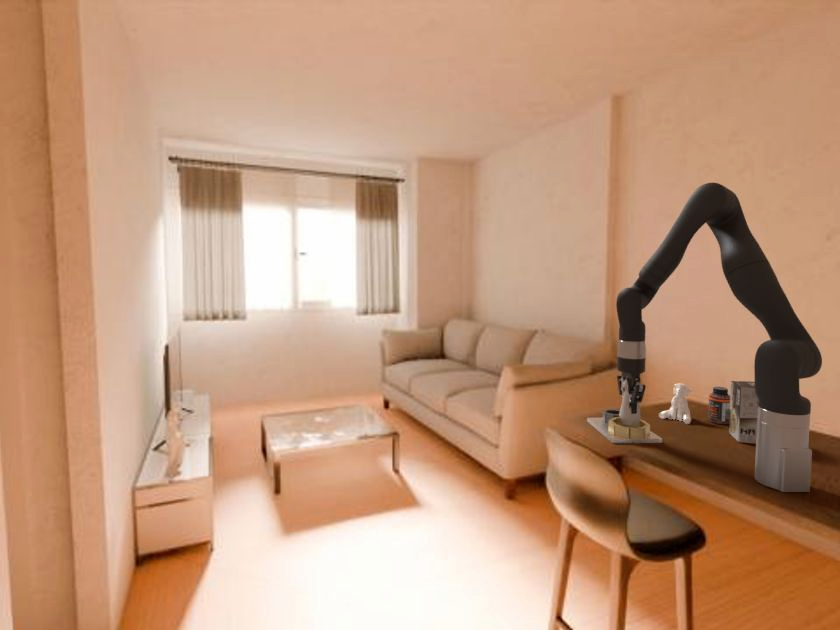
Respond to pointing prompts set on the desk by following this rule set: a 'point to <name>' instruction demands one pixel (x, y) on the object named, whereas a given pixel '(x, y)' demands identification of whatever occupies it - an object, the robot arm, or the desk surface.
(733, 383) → the coffee box
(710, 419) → the supplement bottle
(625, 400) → the salt shaker
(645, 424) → the fitting plate
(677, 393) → the sitting furry creature
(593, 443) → the desk surface
